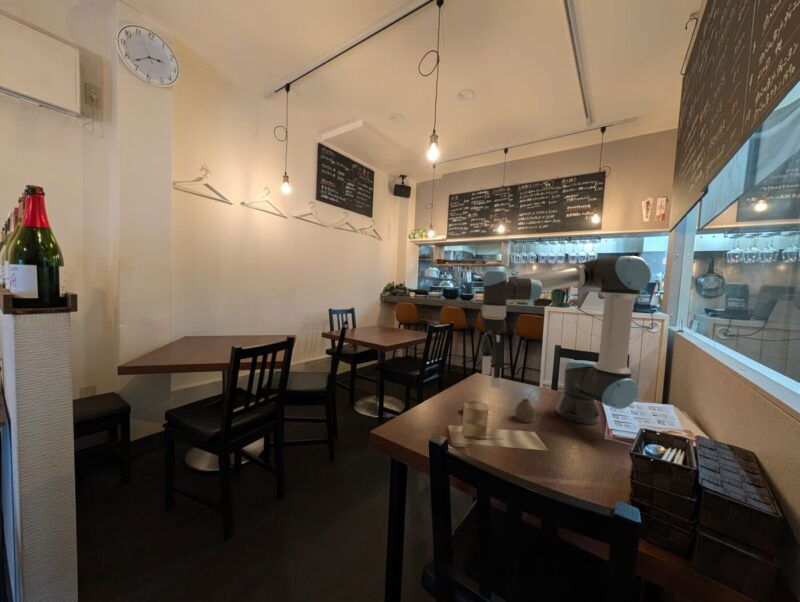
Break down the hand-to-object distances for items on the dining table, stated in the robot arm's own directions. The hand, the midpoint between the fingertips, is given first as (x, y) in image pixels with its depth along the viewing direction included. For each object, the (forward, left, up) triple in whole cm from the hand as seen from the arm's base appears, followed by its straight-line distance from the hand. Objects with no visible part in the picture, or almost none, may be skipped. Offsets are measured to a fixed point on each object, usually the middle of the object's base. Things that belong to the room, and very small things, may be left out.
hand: (490, 380), depth 104 cm
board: (-3, +2, -20) cm, 20 cm away
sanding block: (+5, +2, -19) cm, 19 cm away
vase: (-18, -15, -20) cm, 31 cm away
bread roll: (+1, -17, -20) cm, 26 cm away
